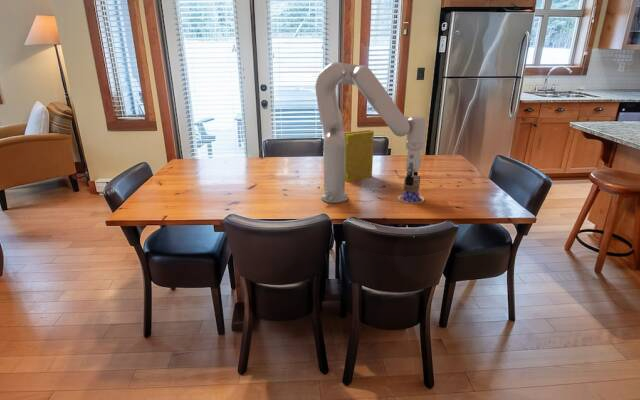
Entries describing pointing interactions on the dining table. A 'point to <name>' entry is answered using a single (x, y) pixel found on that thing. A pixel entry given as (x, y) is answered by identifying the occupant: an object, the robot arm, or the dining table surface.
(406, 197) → the pudding
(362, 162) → the book
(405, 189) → the walnut cube
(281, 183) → the dining table surface
